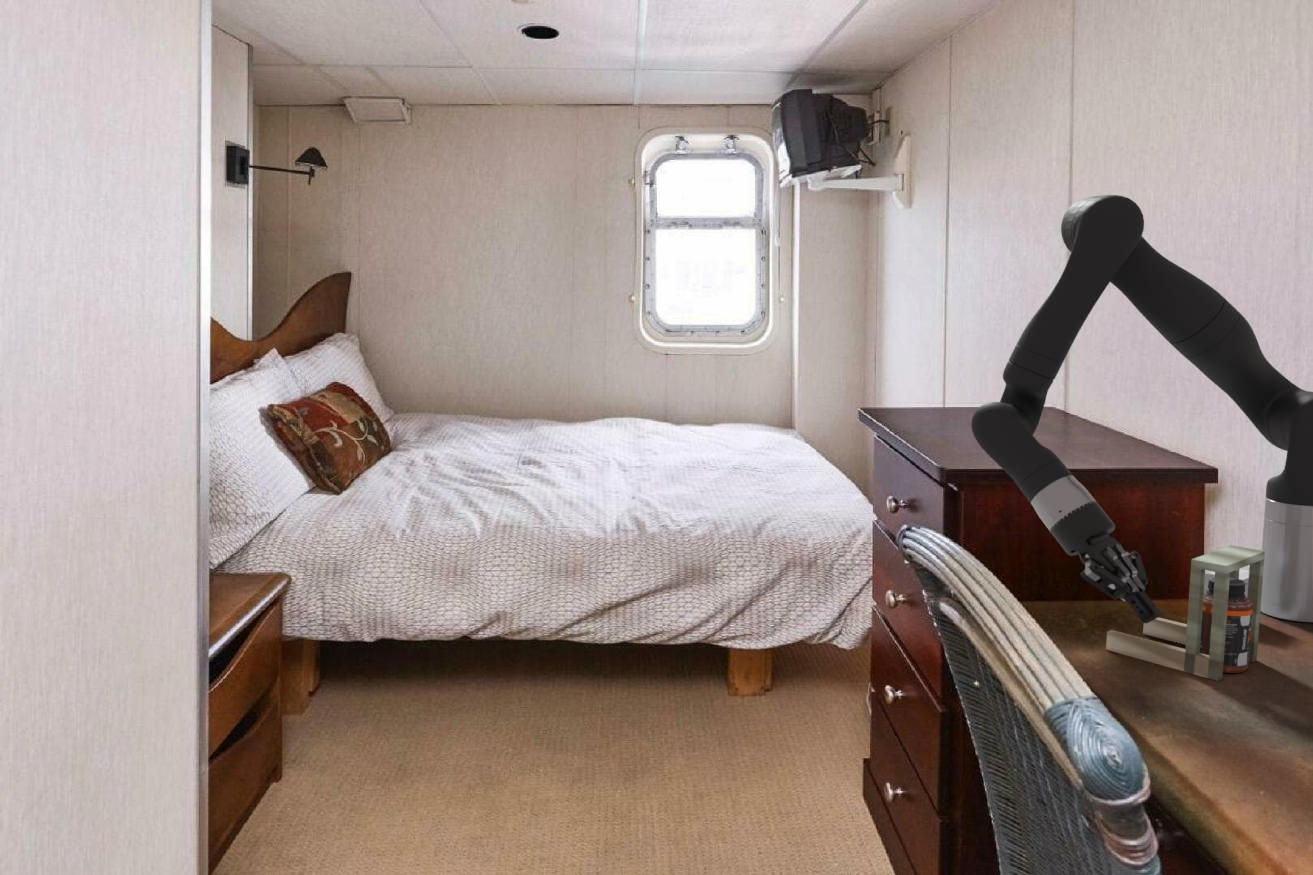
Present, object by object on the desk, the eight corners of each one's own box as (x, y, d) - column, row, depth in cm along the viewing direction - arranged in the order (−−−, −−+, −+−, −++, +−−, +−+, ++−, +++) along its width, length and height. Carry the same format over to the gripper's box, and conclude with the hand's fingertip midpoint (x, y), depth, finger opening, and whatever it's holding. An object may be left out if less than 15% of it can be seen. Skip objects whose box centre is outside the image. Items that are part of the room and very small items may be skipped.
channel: (1147, 632, 133) (1153, 531, 132) (1256, 660, 122) (1265, 551, 121) (1106, 649, 127) (1111, 544, 125) (1218, 681, 116) (1226, 565, 114)
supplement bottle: (1258, 675, 117) (1264, 587, 116) (1207, 674, 118) (1213, 586, 116) (1233, 658, 123) (1239, 574, 122) (1185, 657, 124) (1191, 573, 122)
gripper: (1066, 505, 128) (1152, 614, 120) (1114, 494, 136) (1198, 596, 128) (1028, 536, 133) (1108, 643, 125) (1076, 523, 141) (1155, 623, 133)
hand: (1153, 619), depth 127 cm, fingers closed
